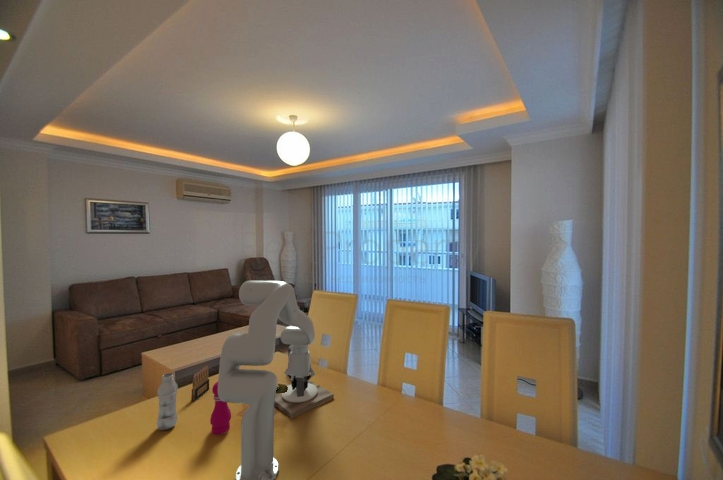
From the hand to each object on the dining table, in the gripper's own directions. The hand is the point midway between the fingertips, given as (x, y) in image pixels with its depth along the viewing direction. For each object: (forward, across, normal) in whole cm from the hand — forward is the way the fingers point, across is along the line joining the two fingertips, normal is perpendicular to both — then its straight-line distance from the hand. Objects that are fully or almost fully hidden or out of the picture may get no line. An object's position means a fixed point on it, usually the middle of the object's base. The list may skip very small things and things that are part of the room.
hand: (299, 388), depth 136 cm
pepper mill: (+4, -22, -26) cm, 34 cm away
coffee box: (+5, -10, +25) cm, 28 cm away
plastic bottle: (+4, -43, -28) cm, 52 cm away
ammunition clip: (+5, -46, -4) cm, 47 cm away
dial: (+2, 0, 0) cm, 2 cm away
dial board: (+4, 0, 0) cm, 4 cm away
